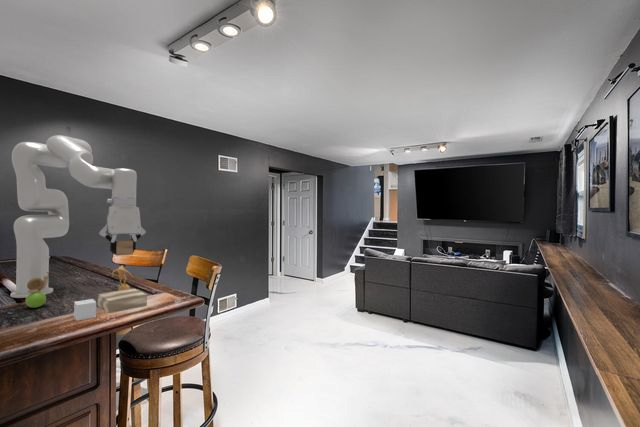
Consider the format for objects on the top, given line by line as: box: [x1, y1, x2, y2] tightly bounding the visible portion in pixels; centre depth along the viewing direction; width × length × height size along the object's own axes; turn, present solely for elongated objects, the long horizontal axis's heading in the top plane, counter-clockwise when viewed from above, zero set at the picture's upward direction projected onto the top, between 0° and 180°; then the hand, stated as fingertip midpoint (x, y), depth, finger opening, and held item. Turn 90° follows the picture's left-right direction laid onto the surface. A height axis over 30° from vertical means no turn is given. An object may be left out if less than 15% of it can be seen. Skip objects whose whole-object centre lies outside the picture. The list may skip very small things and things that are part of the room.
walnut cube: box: [113, 239, 134, 256], centre depth 114 cm, size 5×5×5 cm
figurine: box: [111, 265, 134, 291], centre depth 129 cm, size 8×6×12 cm
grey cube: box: [73, 298, 97, 322], centre depth 102 cm, size 5×5×5 cm
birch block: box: [97, 288, 148, 314], centre depth 115 cm, size 12×12×4 cm
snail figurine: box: [25, 271, 50, 309], centre depth 110 cm, size 5×6×12 cm
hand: (123, 252), depth 114 cm, fingers closed on walnut cube, 5 cm apart
